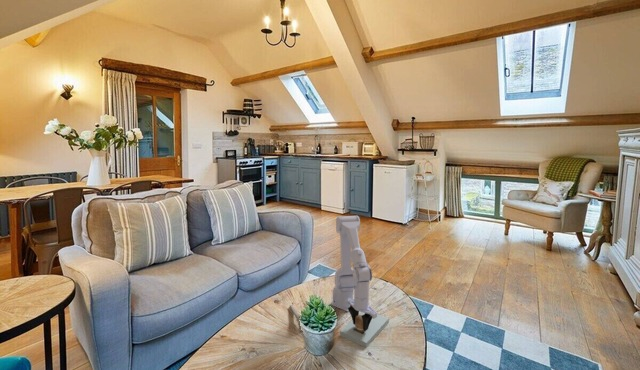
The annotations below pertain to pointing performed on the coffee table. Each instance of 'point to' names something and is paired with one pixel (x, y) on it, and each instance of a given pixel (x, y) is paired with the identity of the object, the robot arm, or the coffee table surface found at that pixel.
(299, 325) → the caliper
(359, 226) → the robot arm
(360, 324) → the peg
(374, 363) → the coffee table surface
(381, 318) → the board
